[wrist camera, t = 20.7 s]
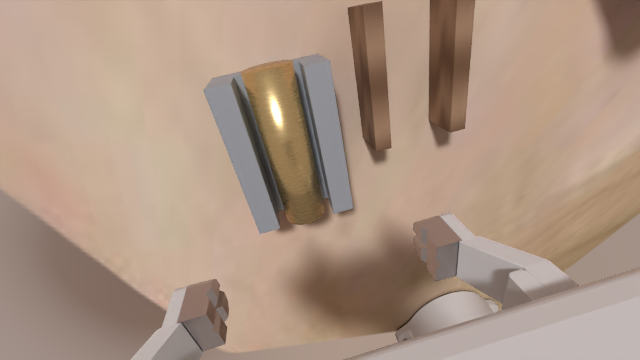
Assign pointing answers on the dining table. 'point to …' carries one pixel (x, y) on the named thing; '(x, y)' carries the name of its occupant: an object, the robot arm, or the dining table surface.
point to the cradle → (249, 150)
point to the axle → (285, 138)
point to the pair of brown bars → (444, 68)
